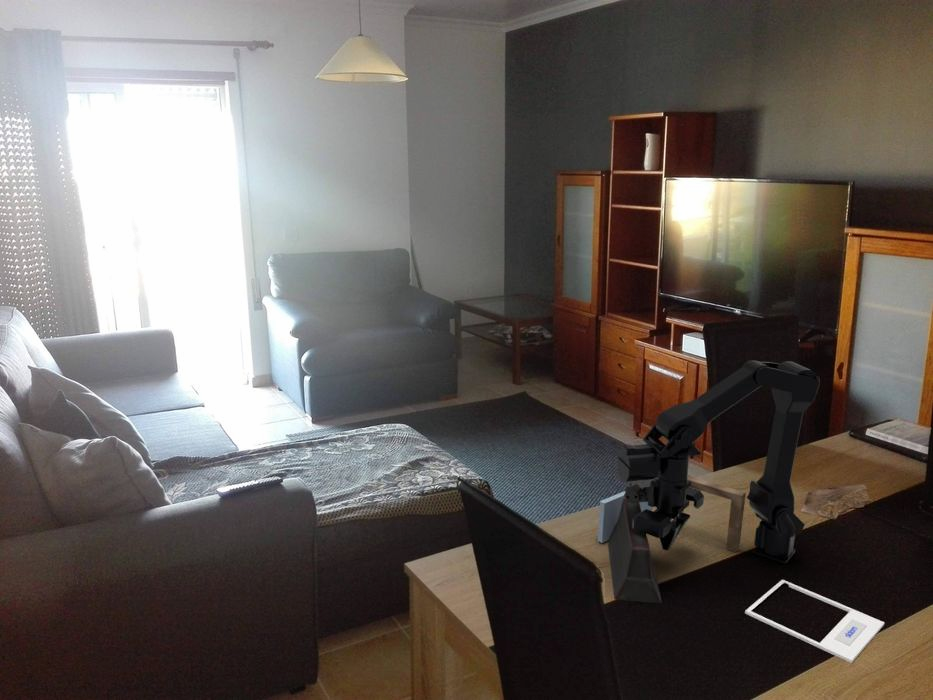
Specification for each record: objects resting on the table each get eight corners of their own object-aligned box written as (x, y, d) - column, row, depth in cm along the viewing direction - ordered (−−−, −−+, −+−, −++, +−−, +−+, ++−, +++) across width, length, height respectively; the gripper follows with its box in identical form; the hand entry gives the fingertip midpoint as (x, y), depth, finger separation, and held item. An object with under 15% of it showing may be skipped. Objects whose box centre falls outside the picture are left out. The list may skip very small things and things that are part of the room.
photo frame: (852, 659, 120) (745, 609, 132) (851, 665, 120) (744, 615, 133) (884, 621, 129) (782, 578, 142) (883, 627, 130) (781, 583, 142)
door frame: (739, 548, 154) (745, 492, 151) (735, 552, 152) (742, 496, 149) (638, 513, 168) (641, 461, 165) (633, 516, 167) (637, 464, 164)
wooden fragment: (824, 524, 165) (825, 520, 164) (781, 504, 174) (781, 500, 173) (890, 497, 178) (891, 493, 177) (847, 480, 187) (847, 476, 186)
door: (641, 515, 167) (644, 478, 164) (651, 520, 165) (654, 482, 162) (592, 537, 157) (594, 498, 155) (602, 543, 155) (604, 503, 153)
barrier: (662, 604, 135) (667, 555, 133) (613, 600, 136) (616, 551, 134) (648, 539, 158) (651, 495, 155) (606, 536, 159) (608, 493, 156)
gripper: (656, 450, 155) (650, 519, 159) (609, 480, 141) (605, 554, 145) (707, 465, 148) (701, 536, 152) (664, 497, 134) (658, 575, 138)
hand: (666, 549), depth 147 cm, fingers closed
